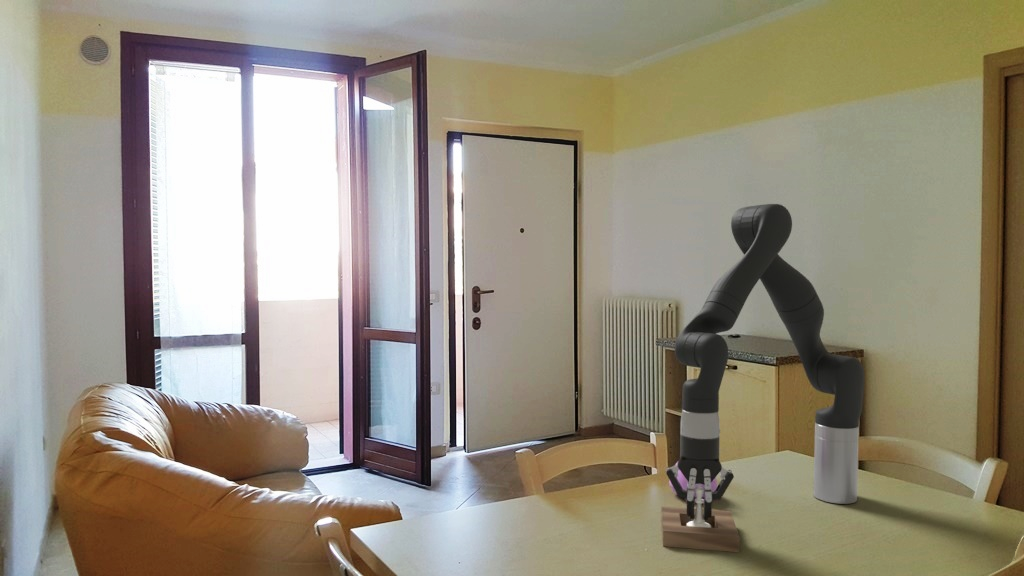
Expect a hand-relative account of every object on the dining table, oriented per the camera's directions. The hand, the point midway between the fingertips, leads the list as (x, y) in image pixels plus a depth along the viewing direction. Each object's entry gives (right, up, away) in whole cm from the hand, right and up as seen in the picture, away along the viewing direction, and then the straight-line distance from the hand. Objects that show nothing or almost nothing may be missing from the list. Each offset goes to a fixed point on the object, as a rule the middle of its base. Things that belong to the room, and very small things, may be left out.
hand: (698, 518), depth 143 cm
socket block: (0, -3, 0) cm, 3 cm away
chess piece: (0, -2, 0) cm, 2 cm away
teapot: (+5, -3, +23) cm, 24 cm away
